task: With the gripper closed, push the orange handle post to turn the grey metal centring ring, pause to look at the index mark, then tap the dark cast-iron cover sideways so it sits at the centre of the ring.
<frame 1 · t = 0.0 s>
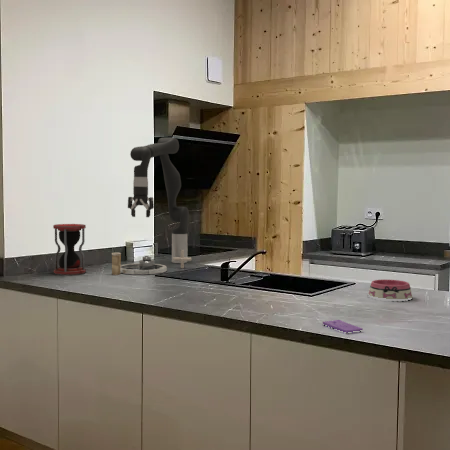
hand: (140, 217, 298), 29 cm above the worktop, tool pointing down, fingers open, 8 cm apart
hourglass: (69, 273, 297), on the worktop
cover: (146, 270, 310), resting in ring
pipe connector: (182, 268, 319), on the worktop
sponges: (342, 330, 188), on the worktop
dog bowl: (389, 298, 242), on the worktop
ring: (138, 262, 306), point 4 cm above the worktop, hinge at 0.0°
gauge stand: (116, 274, 294), on the worktop
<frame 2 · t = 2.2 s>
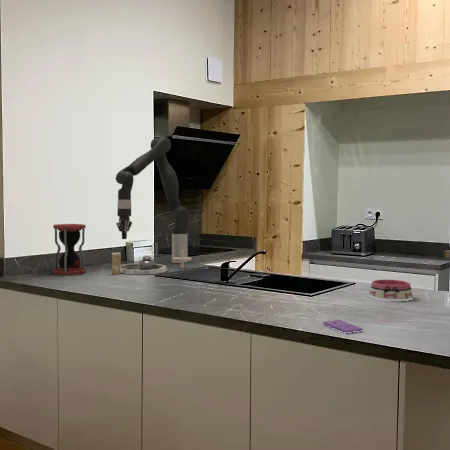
hand: (124, 239, 317), 16 cm above the worktop, tool pointing down, fingers closed
nothing on the worktop moved.
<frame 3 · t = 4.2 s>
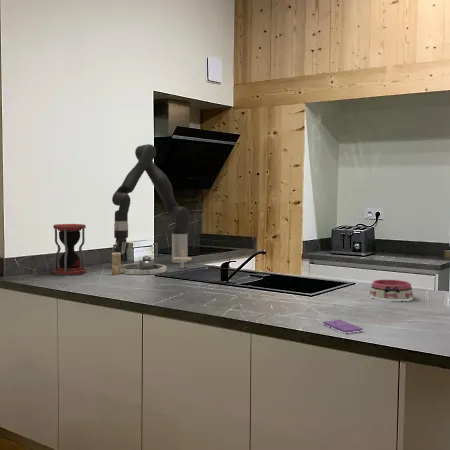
hand: (121, 260, 315), 4 cm above the worktop, tool pointing down, fingers closed
ring: (138, 262, 306), point 4 cm above the worktop, hinge at 0.0°, touching gripper
everything else where it was.
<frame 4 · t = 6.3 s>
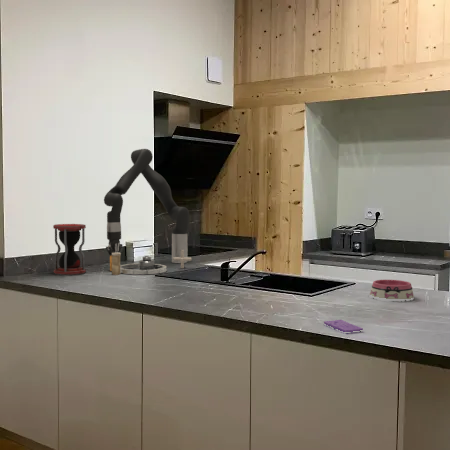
hand: (114, 262, 308), 4 cm above the worktop, tool pointing down, fingers closed
ring: (138, 263, 305), point 4 cm above the worktop, hinge at 27.6°, touching gripper
everything else where it was.
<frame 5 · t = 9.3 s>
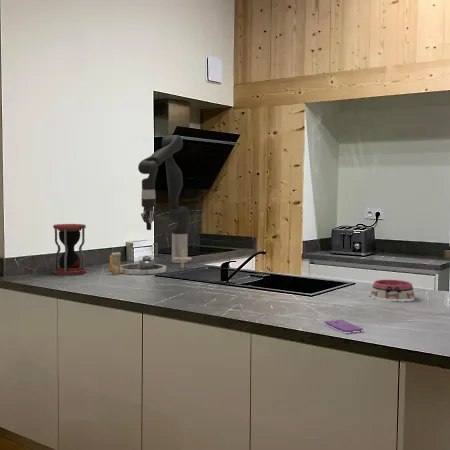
hand: (148, 229, 310), 22 cm above the worktop, tool pointing down, fingers closed
ring: (138, 263, 305), point 4 cm above the worktop, hinge at 27.8°
everything else where it was.
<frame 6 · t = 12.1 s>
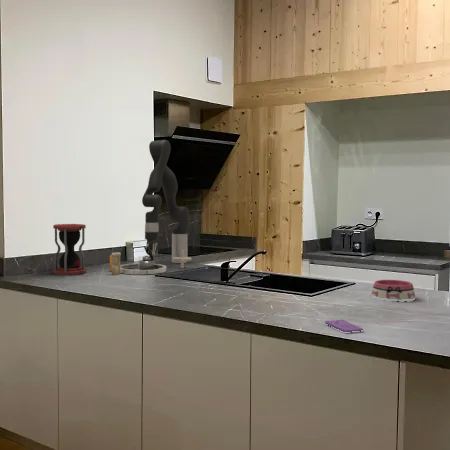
hand: (151, 262, 315), 4 cm above the worktop, tool pointing down, fingers closed
cover: (146, 270, 310), resting in ring, touching gripper
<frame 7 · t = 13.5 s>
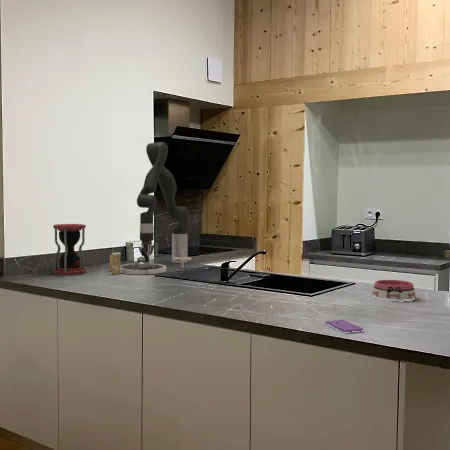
hand: (146, 263, 310), 3 cm above the worktop, tool pointing down, fingers closed
cover: (141, 271, 305), resting in ring, touching gripper
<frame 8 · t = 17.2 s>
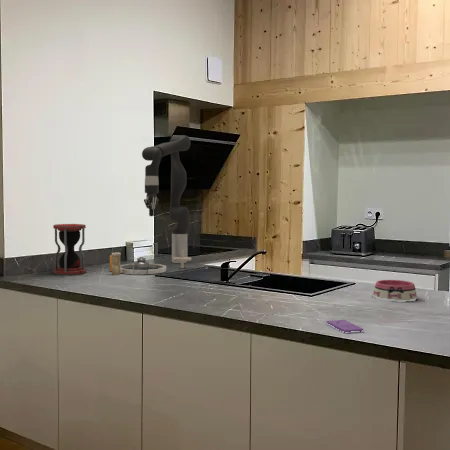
hand: (151, 216, 313), 29 cm above the worktop, tool pointing down, fingers closed
cover: (141, 271, 305), resting in ring
at the end: ring at +28° (first picture: +0°); cover 0.6 cm from the ring (horizontally); cover tilted 0° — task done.
